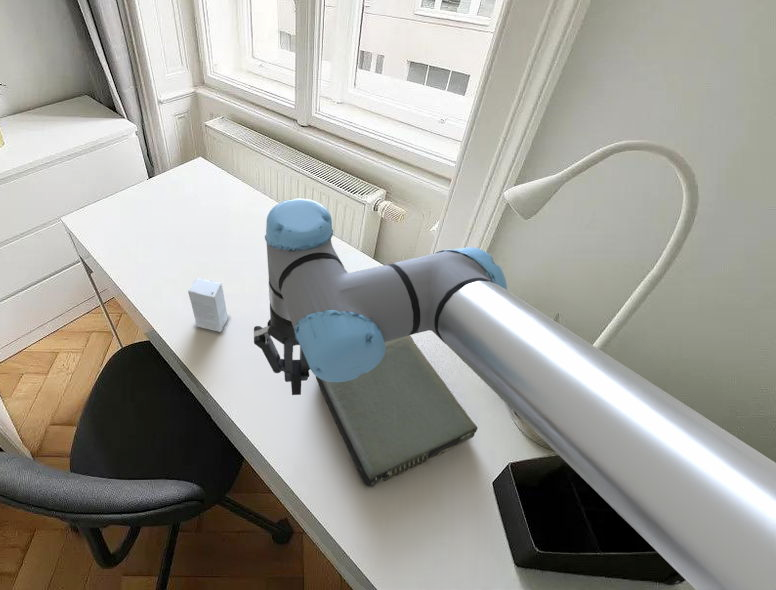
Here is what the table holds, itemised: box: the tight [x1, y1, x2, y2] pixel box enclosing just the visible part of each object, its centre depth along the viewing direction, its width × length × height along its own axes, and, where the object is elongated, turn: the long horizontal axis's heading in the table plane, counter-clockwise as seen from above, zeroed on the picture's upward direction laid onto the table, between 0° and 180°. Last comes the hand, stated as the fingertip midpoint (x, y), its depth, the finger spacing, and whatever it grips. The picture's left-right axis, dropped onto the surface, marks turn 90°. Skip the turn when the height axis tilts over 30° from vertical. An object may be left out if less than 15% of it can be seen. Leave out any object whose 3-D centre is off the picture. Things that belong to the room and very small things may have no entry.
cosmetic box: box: [187, 277, 229, 333], centre depth 88 cm, size 6×4×12 cm
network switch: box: [315, 335, 478, 488], centre depth 74 cm, size 23×24×5 cm
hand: (295, 387), depth 70 cm, fingers closed
